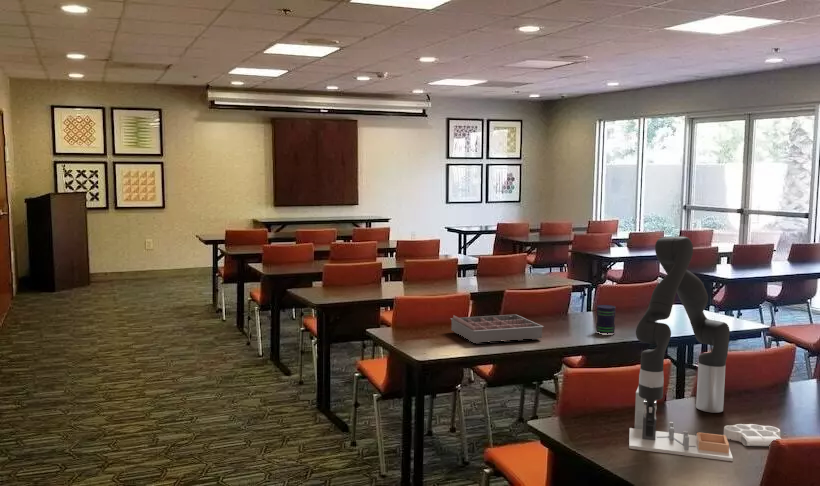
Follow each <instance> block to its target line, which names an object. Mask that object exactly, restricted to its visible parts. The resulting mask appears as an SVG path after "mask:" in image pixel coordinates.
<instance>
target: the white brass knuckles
mask: <svg viewBox="0 0 820 486" xmlns="http://www.w3.org/2000/svg"><path fill="white" fill-rule="evenodd" d="M723 435H726V437H727V440H730V439H731V441H737V442H740V443H741V444H742V445H743V446H745V447H770V446H769V444H770V443H771V442H772V441H773V440H776V439H782V438H781V429H780V428H778V427H776V426H771V425H760V424H757V423H756V424H755V423H754V424H753V423H749V424H745V423H743V424H742V423H737V424H733V425H728V424H727V425H724V427H723Z"/></svg>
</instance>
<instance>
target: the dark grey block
mask: <svg viewBox="0 0 820 486" xmlns="http://www.w3.org/2000/svg"><path fill="white" fill-rule="evenodd" d="M648 421H652V418H648ZM645 422H646V418H645V417H644V414H643V429H642V439H647V440H655V438H656V431H657V417H656V418H655V419H654V423H655V425H654V426H653V436H652V437H649V436H646V424H645Z"/></svg>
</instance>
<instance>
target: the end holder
mask: <svg viewBox="0 0 820 486" xmlns="http://www.w3.org/2000/svg"><path fill="white" fill-rule="evenodd" d="M696 436H697V439H696V440H697V444H698V449H699V450H707V451H715V452H724V453H729V448H730V443H729V441H728V440H729V439H727V437H726V435H724V434H716V433H707V432H700V431H699V432H696ZM704 441H706V442H704ZM713 442H714V443H713ZM722 443H723V444H722Z"/></svg>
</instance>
